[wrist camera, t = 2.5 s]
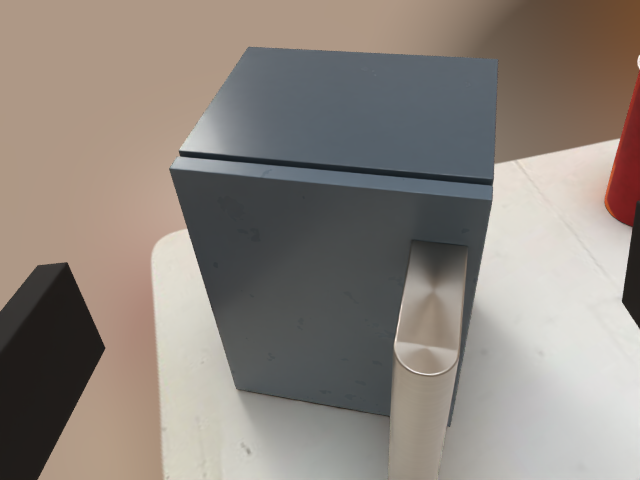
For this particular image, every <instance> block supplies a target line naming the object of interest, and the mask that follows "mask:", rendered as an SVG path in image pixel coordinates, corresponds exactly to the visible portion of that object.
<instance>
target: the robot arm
mask: <svg viewBox="0 0 640 480" xmlns="http://www.w3.org/2000/svg"><path fill="white" fill-rule="evenodd" d="M622 303H623V304H624V306H625V307H626V309H627V310H628V312H629V313H630V315H631V316H632V318H633V319H634V321H635V322H636V324H637V325H638V327H639V329H640V201H637V203H636V209H635V216H634V223H633V230H632V237H631V243H630V250H629V257H628V264H627V270H626V277H625V284H624V291H623V297H622ZM104 350H105V346H104V344H103V342H102V339H101V337H100V335H99V333H98V330H97V328H96V326H95V324H94V322H93V319H92V317H91V315H90V312H89V310H88V308H87V306H86V304H85V301H84V299H83V297H82V295H81V292H80V290H79V288H78V285H77V284H76V281H75V279H74V277H73V274H72V272H71V270H70V267H69V265H68V263H67V262H66V263H56V264H47V265H38V266H37V267H36V268H35V269H34V271H33V272H32V273H31V274H30V275H29V277H28V278H27V279H26V280H25V282H24V283H23V284H22V285H21V287H20V288H19V289H18V290H17V292H16V293H15V294H14V296H13V297H12V298H11V299H10V300H9V302H8V303H7V304H6V305H5V307H4V308H3V309H2V310H1V311H0V480H37V479H38V477H39V476H40V474H41V472H42V470H43V468H44V466H45V464H46V462H47V460H48V458H49V456H50V454H51V452H52V451H53V449H54V447H55V445H56V443H57V441H58V439H59V437H60V435H61V433H62V431H63V429H64V427H65V425H66V423H67V421H68V420H69V418H70V416H71V414H72V412H73V410H74V408H75V406H76V404H77V402H78V400H79V398H80V396H81V394H82V392H83V391H84V389H85V387H86V385H87V383H88V380H89V379H90V377H91V375H92V373H93V371H94V369H95V367H96V365H97V364H98V362H99V360H100V358H101V356H102V354H103V352H104Z"/></svg>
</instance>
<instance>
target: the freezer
mask: <svg viewBox="0 0 640 480" xmlns="http://www.w3.org/2000/svg"><path fill="white" fill-rule="evenodd" d="M497 78H498V59H484V58H464V57H444V56H423V55H403V54H382V53H363V52H341V51H322V50H302V49H301V50H300V49H282V48H262V47H248V48H247V49H246V51H245V53H244V54H243V55H242V57H241V58H240V60H239V62H238V63H237V64H236V66H235V68H234V69H233V70H232V72H231V73H230V75H229V76H228V78H227V79H226V81H225V82H224V84H223V85H222V87H221V88H220V90H219V91H218V93H217V94H216V96H215V97H214V99H213V100H212V102H211V103H210V105H209V106H208V108H207V109H206V111H205V112H204V113H203V115H202V116H201V118H200V120H199V121H198V122H197V124H196V125H195V127H194V128H193V130H192V132H191V133H190V134H189V136H188V137H187V139H186V140H185V142H184V143H183V145H182V146H181V148H180V149H179V154H180V157H188V158H199V159H210V160H221V161H231V162H242V163H253V164H264V165H274V166H285V167H296V168H307V169H317V170H328V171H339V172H350V173H361V174H371V175H382V176H393V177H404V178H414V179H425V180H436V181H447V182H457V183H468V184H479V185H490V186H493V180H494V157H495V129H496V105H497V104H496V103H497V80H498V79H497Z"/></svg>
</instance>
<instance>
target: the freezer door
mask: <svg viewBox="0 0 640 480" xmlns="http://www.w3.org/2000/svg"><path fill="white" fill-rule="evenodd" d="M169 170H170V173H171V176H172V180H173V183H174V186H175V189H176V193H177V196H178V199H179V203H180V205H181V209H182V212H183V216H184V219H185V222H186V225H187V229H188V232H189V235H190V239H191V242H192V245H193V248H194V252H195V255H196V258H197V262H198V265H199V268H200V271H201V275H202V278H203V281H204V284H205V288H206V291H207V294H208V298H209V301H210V304H211V307H212V311H213V314H214V317H215V320H216V324H217V327H218V330H219V334H220V337H221V340H222V343H223V347H224V350H225V353H226V357H227V360H228V363H229V366H230V370H231V373H232V376H233V379H234V383H235V386H236V389H240V390H246V391H251V392H257V393H263V394H268V395H274V396H280V397H285V398H291V399H296V400H302V401H308V402H313V403H319V404H324V405H330V406H336V407H341V408H347V409H353V410H358V411H364V412H369V413H375V414H381V415H386V416H390V439H389V464H388V480H437V479H438V473H439V467H440V462H441V456H442V451H443V445H444V439H445V434H446V428H447V426H448V427H450V425H451V420H452V414H453V409H454V404H455V398H456V393H457V388H458V382H459V377H460V371H461V366H462V361H463V355H464V350H465V345H466V339H467V334H468V329H469V323H470V318H471V312H472V307H473V302H474V296H475V291H476V286H477V280H478V275H479V270H480V264H481V259H482V254H483V248H484V243H485V237H486V232H487V227H488V221H489V216H490V211H491V205H492V199H493V186H490V185H479V184H468V183H457V182H447V181H436V180H425V179H414V178H404V177H393V176H382V175H371V174H361V173H350V172H339V171H328V170H317V169H307V168H296V167H285V166H274V165H264V164H253V163H242V162H231V161H221V160H210V159H199V158H188V157H176V159H175V160H174V162H173V163H172V165H171V166H170V168H169Z"/></svg>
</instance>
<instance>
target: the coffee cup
mask: <svg viewBox="0 0 640 480" xmlns="http://www.w3.org/2000/svg"><path fill="white" fill-rule="evenodd" d="M638 67H639V69H640V55H639V57H638ZM637 201H640V70H639V74H638V78H637V81H636V85H635V88H634V92H633V95H632V99H631V103H630V106H629V110H628V113H627V117H626V121H625V124H624V128H623V131H622V135H621V138H620V142H619V146H618V149H617V153H616V157H615V160H614V164H613V168H612V171H611V175H610V179H609V183H608V187H607V191H606V195H605V206H606V208H607V210H608V211H609V213H610V214H611V215H612V216H613V217H615V218H616V219H617V220H619V221H621V222H623V223H625V224H627V225H630V226H633V223H634V216H635V209H636V203H637Z"/></svg>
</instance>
